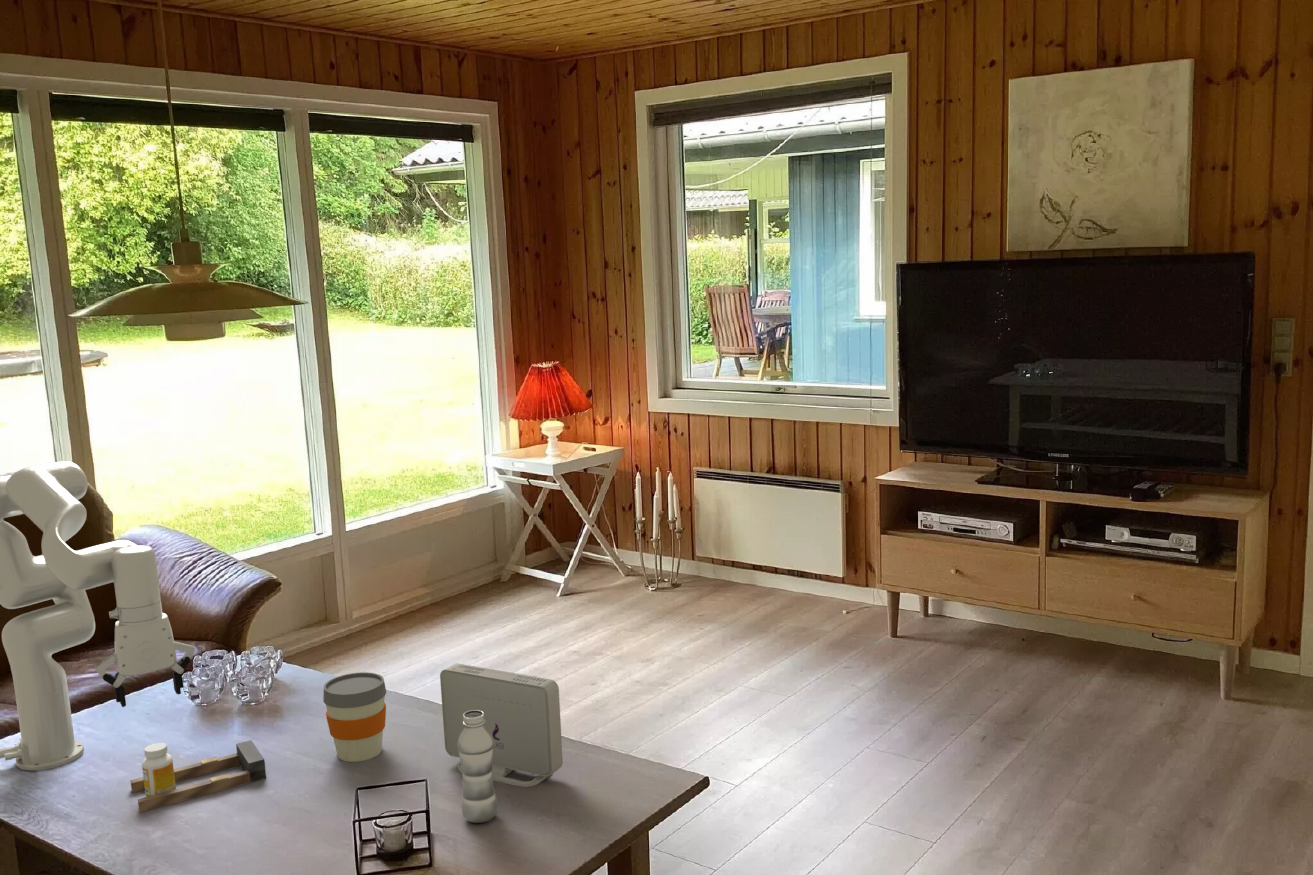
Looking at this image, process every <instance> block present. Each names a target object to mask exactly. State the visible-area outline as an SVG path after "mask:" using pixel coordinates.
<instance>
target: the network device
mask: <svg viewBox="0 0 1313 875" xmlns="http://www.w3.org/2000/svg"><path fill="white" fill-rule="evenodd" d="M439 679H440V680H439V682H440V693H441V695H440V696H441V697H440V698H441V707H442V708H441V710H442V721H443V722H442V725H443V736H444V738H443V739H444V749H445V751H446V753H447V754H448V755H449V756H451V757H455V758H459V759H460V756H459V751H458V745H457V743H458V739H459V736H460V734H461V733H462V731H463V730H464V728H465V726H464V725H463V721H464V720H463V714H464V713H465V712H467V711H471V710H480V711H482V712H483V713H484V719H485V724H484V726H485V727H486V728H487V729H488V731H489V732H490V733H491V735H492V737H493V740H494V746H493V758H492V777H493V782H494V781H495V782H500V783H503V784H506V785H507V784H508V785H512V786H517V787H522V788H526V787H527V788H528V786H529V787H534V786H536V785H539V784H540V783H542V782H543V781H544V780H546V779H547V778H548V777H550V776H552V775H553V774H554V773H555V772H557V771H558V770H559V769H561V768H562V766H563V764H564V762H563V743H562V742H563V741H562V726H561V725H562V723H561V705H560V704H561V702H560V688H559V684H558V683H557V682H556V681H555V680H554V679H552V678H551V679H550V678H545V677H539V676H532V675H528V674H522V673H515V672H509V671H503V670H498V669H494V668H487V667H486V668H485V667H480V666H474V665H468V664H465V663H454V664H452V665H450V666H449V667H445V669H443V670H441V672H440V673H439ZM457 768H458V771H459V773H461V774H462V766H461V762H460V763H459V764H458V767H457ZM513 771H518V772H523V773H528V774H531V775H536V777H535V778H533V779H532V780H529V781H522V780H519V779H514V778H510V777H506V776H507V775H508V774H510V773H512V772H513ZM546 777H547V778H546ZM542 780H543V781H542ZM541 781H542V782H541ZM533 785H534V786H533Z"/></svg>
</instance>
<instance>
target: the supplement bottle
mask: <svg viewBox="0 0 1313 875" xmlns="http://www.w3.org/2000/svg"><path fill="white" fill-rule="evenodd" d="M143 751H144V757H145V758H144V759H143V760H142V761H141V768H142V775H143V776H142V777H143V778H144V786H145V790H144V793H145V797H148V796H152V795H156V794H159V793H163V792H167V791H171V790H175V789H177V788H176V782H175V778H174V769H175V768H174V764H173V763H174V761H173V757H172V755H171V754H169V753H168V746H167V743H165V742H157V743H152V744H149V745H147V746H146V747H145V748H144V750H143Z"/></svg>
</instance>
